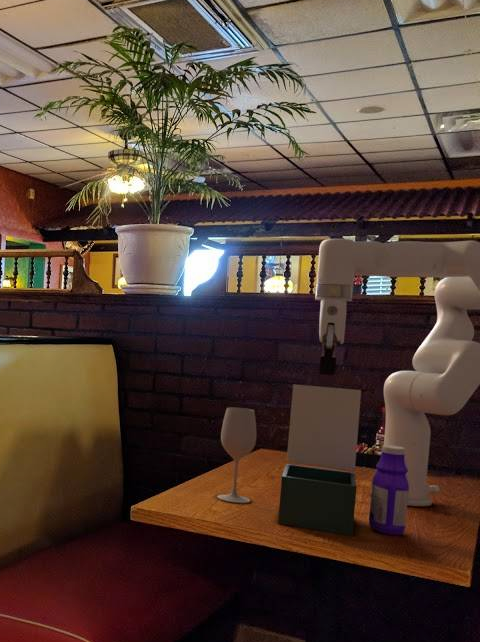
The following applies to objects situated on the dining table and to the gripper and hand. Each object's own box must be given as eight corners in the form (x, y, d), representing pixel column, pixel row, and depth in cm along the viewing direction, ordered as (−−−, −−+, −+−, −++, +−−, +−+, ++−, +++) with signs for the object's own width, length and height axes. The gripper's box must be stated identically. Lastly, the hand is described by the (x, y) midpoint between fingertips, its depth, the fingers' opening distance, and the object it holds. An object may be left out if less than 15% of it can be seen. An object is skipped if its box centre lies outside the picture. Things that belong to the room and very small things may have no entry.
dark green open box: (352, 535, 147) (356, 486, 147) (278, 523, 153) (281, 476, 153) (350, 517, 162) (354, 472, 162) (283, 507, 168) (286, 463, 168)
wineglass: (234, 504, 168) (241, 411, 167) (209, 496, 174) (216, 407, 173) (258, 502, 171) (265, 411, 170) (232, 494, 178) (239, 406, 177)
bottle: (410, 537, 148) (418, 450, 147) (381, 535, 148) (389, 448, 147) (390, 527, 155) (397, 444, 155) (363, 525, 156) (369, 442, 155)
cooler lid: (361, 390, 163) (360, 390, 164) (293, 384, 169) (293, 384, 170) (354, 470, 161) (354, 470, 162) (286, 461, 167) (286, 461, 168)
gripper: (353, 292, 161) (345, 377, 162) (351, 296, 175) (344, 374, 175) (314, 291, 164) (307, 374, 165) (316, 295, 178) (309, 372, 179)
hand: (326, 374), depth 170 cm, fingers closed
